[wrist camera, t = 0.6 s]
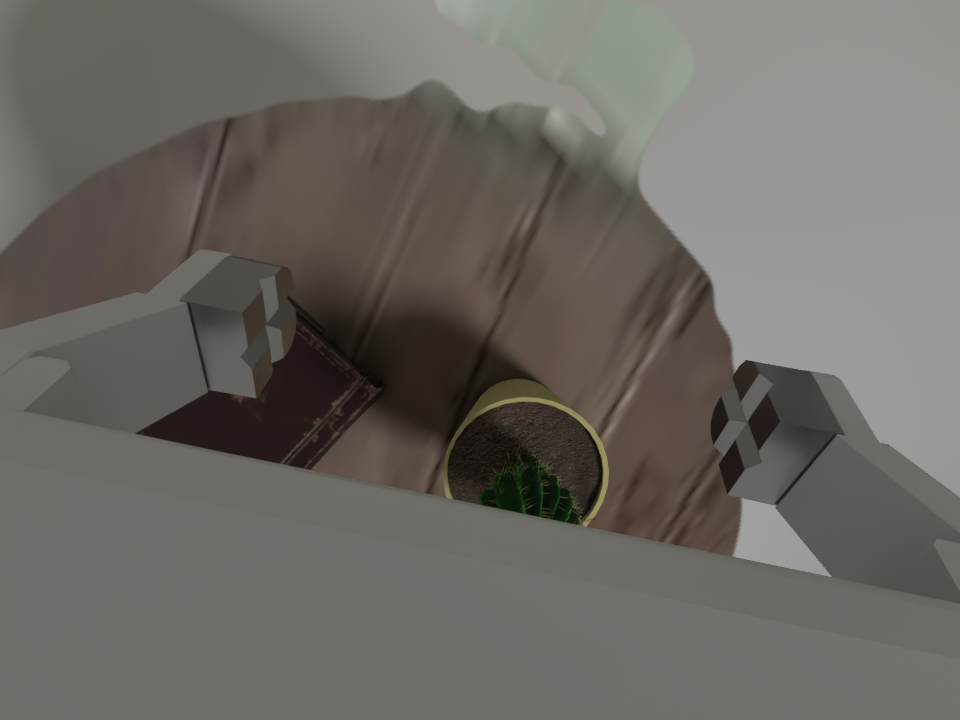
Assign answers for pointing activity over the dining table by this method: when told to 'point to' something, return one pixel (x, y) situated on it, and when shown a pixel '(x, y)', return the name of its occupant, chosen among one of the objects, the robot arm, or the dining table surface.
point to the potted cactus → (527, 456)
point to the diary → (280, 406)
